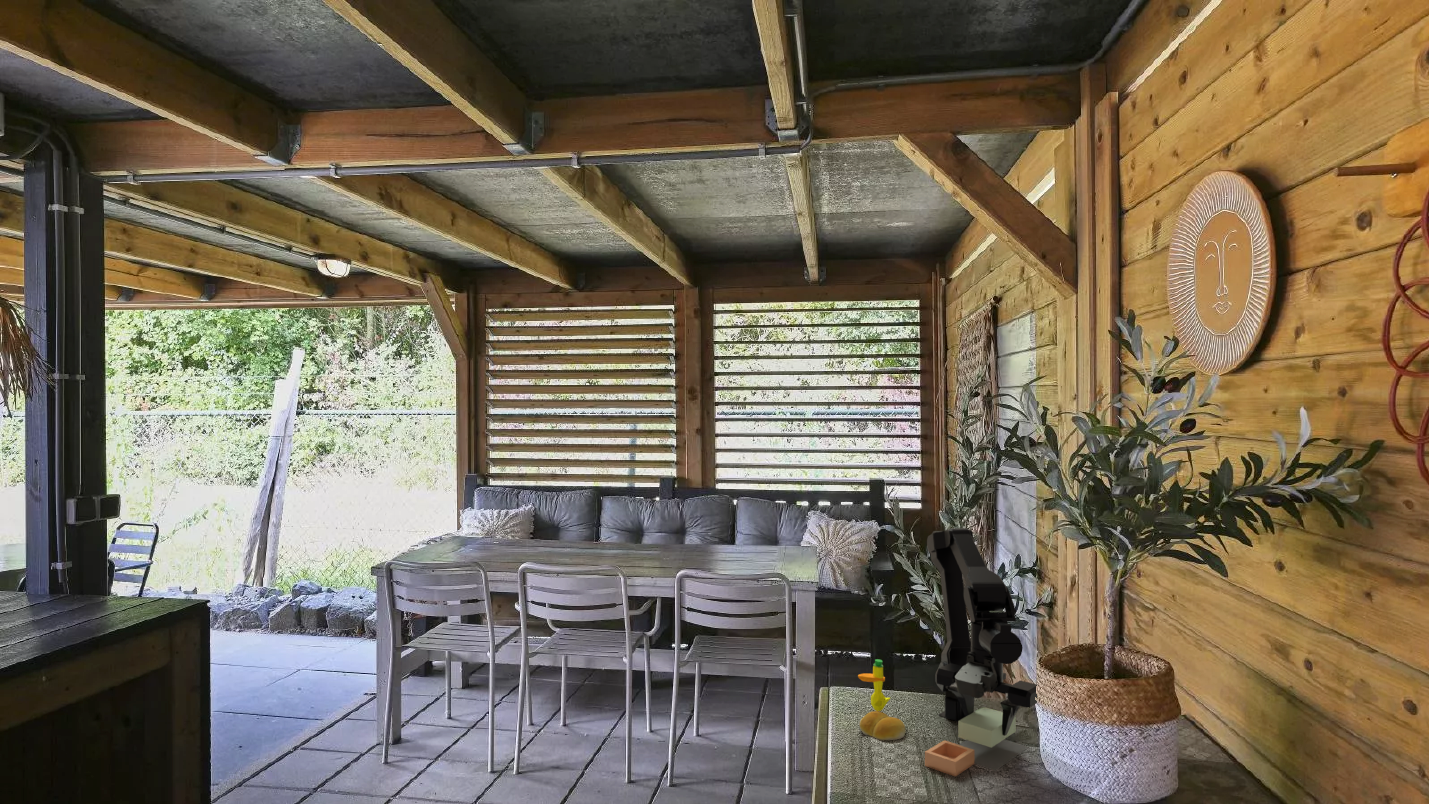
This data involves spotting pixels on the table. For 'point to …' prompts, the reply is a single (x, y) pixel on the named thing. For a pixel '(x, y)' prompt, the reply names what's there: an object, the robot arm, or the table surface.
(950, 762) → the dish
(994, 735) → the lid
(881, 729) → the bread roll
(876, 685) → the toy figure
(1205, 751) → the table surface
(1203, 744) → the table surface
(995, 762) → the mat
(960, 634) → the robot arm
